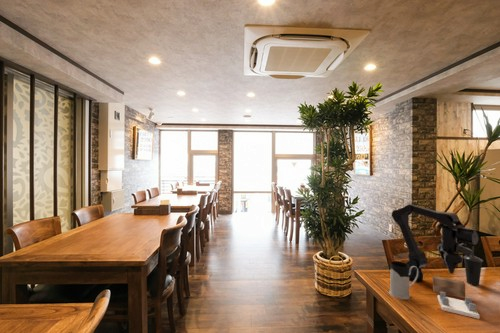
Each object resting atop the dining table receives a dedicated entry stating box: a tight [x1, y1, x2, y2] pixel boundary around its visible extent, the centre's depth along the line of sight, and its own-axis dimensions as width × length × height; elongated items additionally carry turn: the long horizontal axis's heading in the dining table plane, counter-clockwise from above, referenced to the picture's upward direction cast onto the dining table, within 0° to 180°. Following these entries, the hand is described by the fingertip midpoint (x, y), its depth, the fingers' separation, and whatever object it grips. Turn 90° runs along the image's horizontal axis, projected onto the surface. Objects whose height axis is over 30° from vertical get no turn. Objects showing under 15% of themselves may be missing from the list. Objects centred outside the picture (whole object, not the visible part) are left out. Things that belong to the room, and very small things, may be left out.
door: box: [432, 275, 466, 299], centre depth 117 cm, size 12×3×7 cm, turn 60°
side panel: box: [437, 292, 480, 320], centre depth 105 cm, size 12×11×4 cm
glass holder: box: [388, 260, 419, 300], centre depth 116 cm, size 9×14×15 cm, turn 95°
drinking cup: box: [462, 246, 484, 287], centre depth 127 cm, size 8×8×20 cm
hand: (448, 269), depth 117 cm, fingers open, 9 cm apart
